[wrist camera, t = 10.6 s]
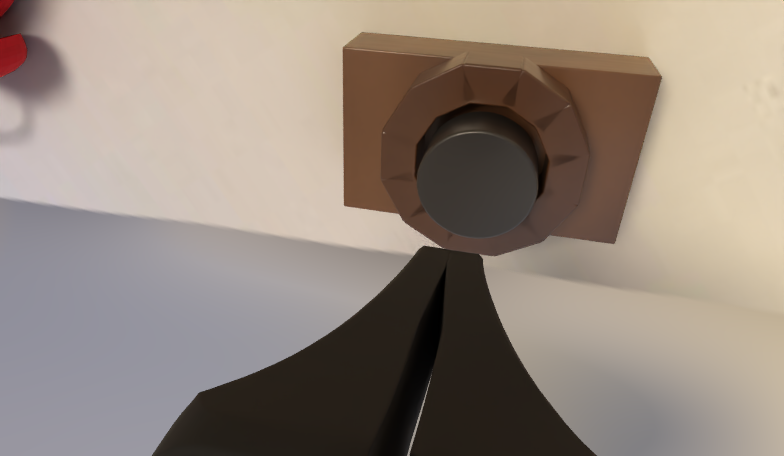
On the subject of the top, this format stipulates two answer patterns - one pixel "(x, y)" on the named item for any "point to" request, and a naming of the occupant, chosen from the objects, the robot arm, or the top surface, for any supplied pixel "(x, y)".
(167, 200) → the top surface
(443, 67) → the block
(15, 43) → the alarm clock
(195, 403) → the robot arm
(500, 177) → the button
